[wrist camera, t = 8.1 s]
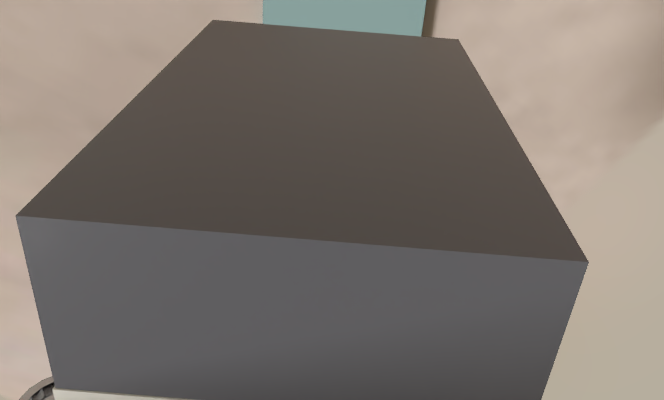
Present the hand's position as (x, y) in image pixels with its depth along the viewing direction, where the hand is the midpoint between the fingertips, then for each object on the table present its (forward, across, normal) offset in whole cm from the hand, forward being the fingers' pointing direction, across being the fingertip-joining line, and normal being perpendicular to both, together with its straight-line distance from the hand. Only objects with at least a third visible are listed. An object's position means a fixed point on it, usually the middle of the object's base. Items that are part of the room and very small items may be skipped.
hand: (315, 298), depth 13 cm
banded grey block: (+1, 0, 0) cm, 1 cm away
